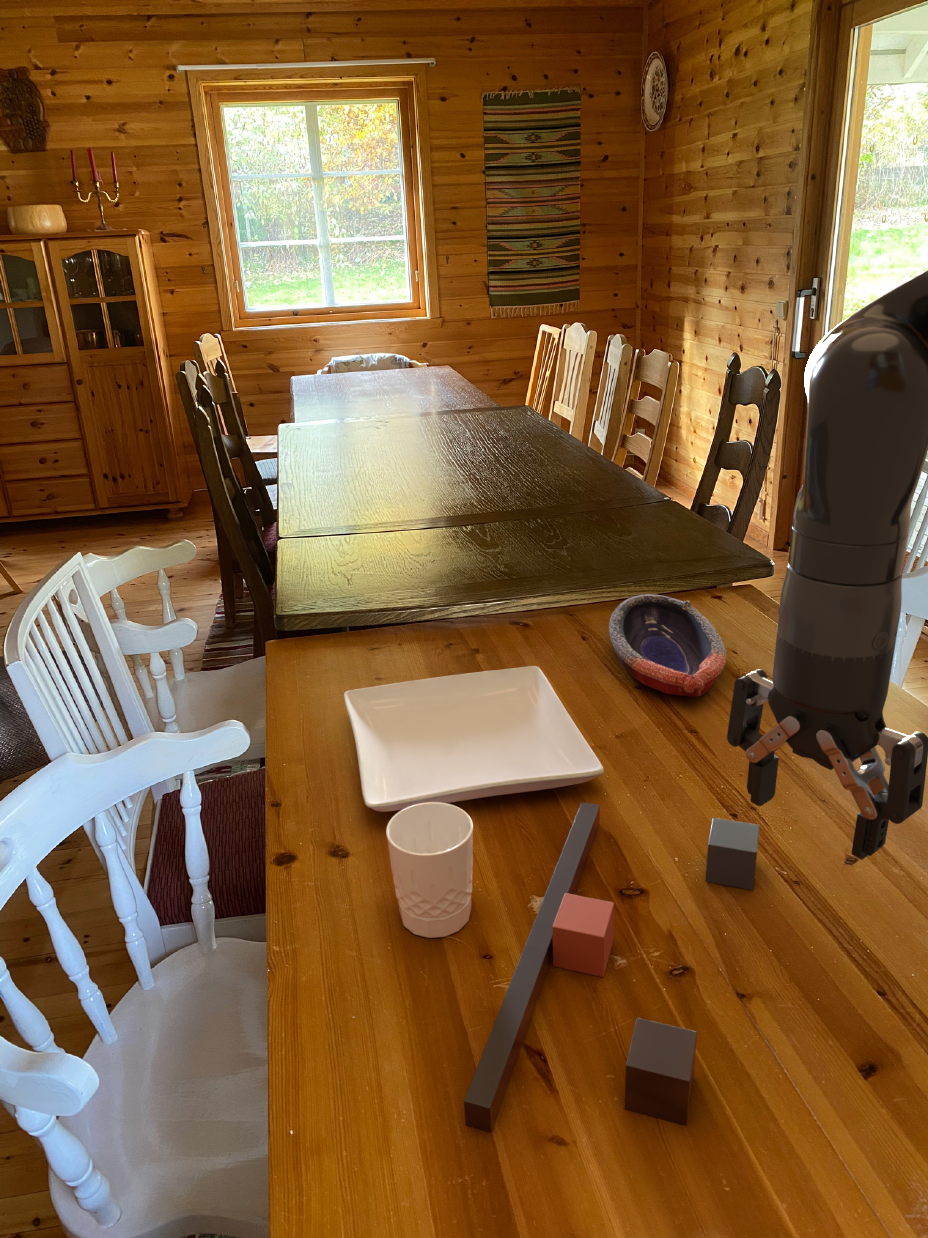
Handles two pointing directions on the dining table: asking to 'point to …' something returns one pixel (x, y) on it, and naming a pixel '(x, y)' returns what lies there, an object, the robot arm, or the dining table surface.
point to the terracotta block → (583, 934)
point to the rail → (528, 979)
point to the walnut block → (660, 1070)
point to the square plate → (465, 739)
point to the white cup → (432, 867)
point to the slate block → (732, 853)
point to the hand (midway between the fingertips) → (810, 825)
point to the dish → (667, 644)
